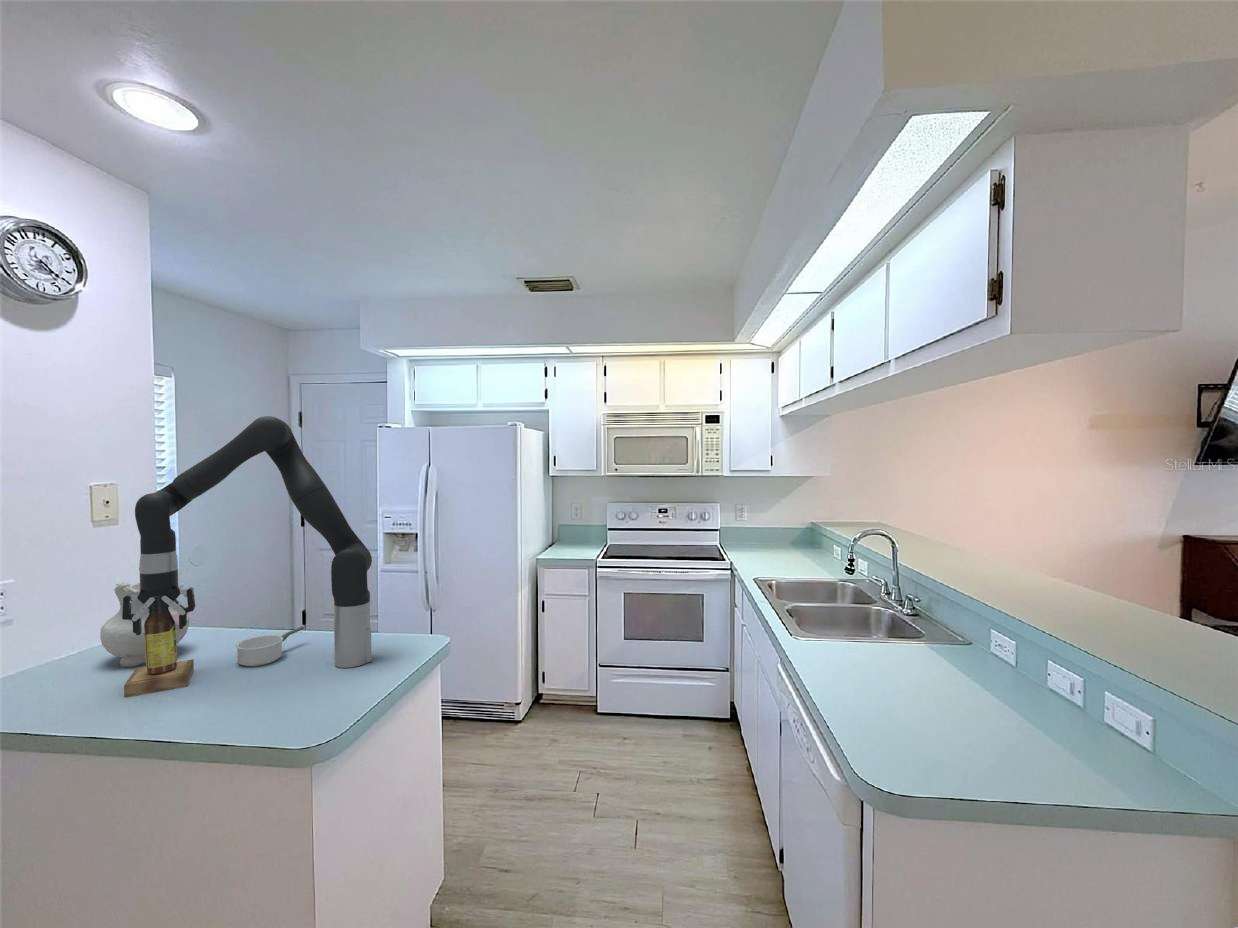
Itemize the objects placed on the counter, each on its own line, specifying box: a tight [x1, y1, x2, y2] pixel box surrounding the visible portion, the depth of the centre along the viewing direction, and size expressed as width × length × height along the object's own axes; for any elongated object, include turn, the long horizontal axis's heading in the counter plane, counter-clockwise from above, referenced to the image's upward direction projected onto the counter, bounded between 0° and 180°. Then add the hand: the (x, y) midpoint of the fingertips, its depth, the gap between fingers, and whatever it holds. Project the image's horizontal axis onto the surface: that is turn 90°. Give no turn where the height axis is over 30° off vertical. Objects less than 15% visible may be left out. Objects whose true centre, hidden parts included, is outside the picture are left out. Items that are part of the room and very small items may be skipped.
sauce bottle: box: [144, 595, 178, 674], centre depth 140 cm, size 6×6×20 cm
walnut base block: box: [123, 658, 194, 698], centre depth 140 cm, size 12×12×3 cm
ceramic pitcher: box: [99, 581, 190, 668], centre depth 157 cm, size 22×20×25 cm
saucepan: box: [235, 626, 306, 667], centre depth 159 cm, size 12×20×6 cm, turn 161°
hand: (160, 631), depth 140 cm, fingers open, 8 cm apart
